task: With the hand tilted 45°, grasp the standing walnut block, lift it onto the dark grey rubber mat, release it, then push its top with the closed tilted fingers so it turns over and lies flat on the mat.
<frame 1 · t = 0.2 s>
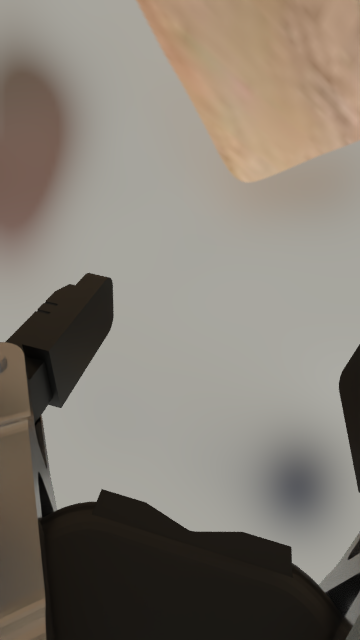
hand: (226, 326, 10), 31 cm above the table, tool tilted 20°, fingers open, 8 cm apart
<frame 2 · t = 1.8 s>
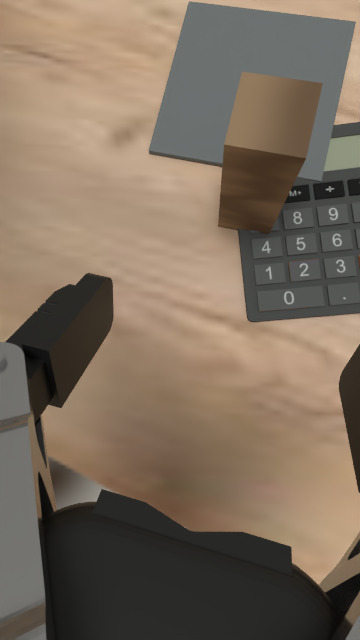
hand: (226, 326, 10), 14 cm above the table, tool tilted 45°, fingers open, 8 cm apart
calculator: (311, 223, 26), on the table
mat: (251, 90, 27), on the table
block: (248, 207, 26), on the table
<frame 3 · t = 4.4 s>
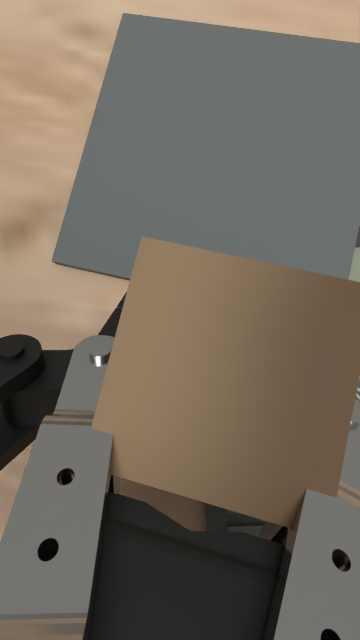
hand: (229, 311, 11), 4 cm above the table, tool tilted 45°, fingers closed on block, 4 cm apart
calculator: (321, 391, 15), on the table
mat: (221, 160, 16), on the table
block: (214, 363, 15), on the table, touching gripper
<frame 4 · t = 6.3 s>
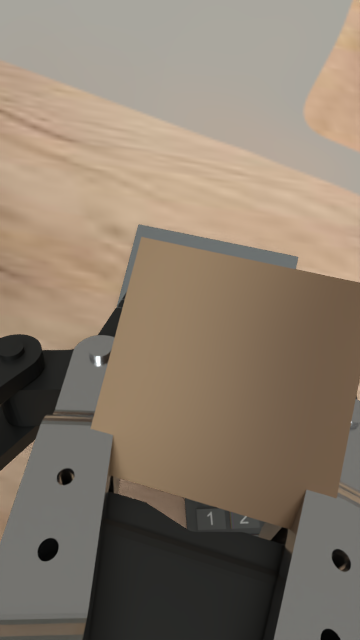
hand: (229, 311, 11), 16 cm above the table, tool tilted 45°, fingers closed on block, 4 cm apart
calculator: (253, 458, 26), on the table
mat: (197, 319, 28), on the table
block: (214, 364, 15), point 12 cm above the table, touching gripper
when the fingers open (6 cm above the table, at t = 8.5 s): block stays where it is, resting on mat.
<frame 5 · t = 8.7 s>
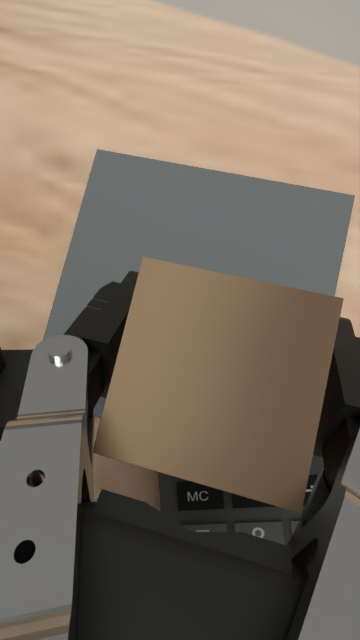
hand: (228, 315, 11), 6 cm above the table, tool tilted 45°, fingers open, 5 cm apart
calculator: (282, 528, 16), on the table
mat: (189, 298, 17), on the table
block: (213, 364, 16), resting on mat
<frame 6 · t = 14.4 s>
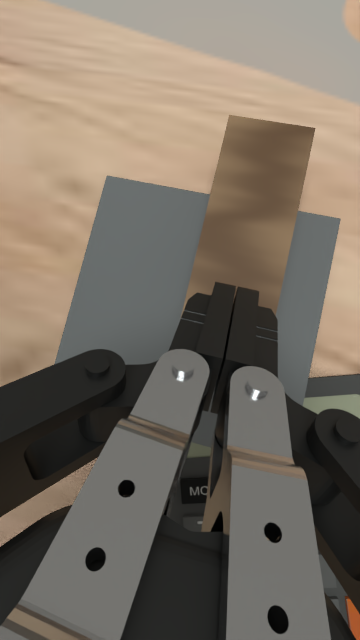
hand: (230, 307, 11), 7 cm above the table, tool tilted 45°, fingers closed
calculator: (276, 520, 18), on the table
mat: (191, 311, 19), on the table
block: (222, 333, 16), point 2 cm above the table, tilted 90°, touching mat
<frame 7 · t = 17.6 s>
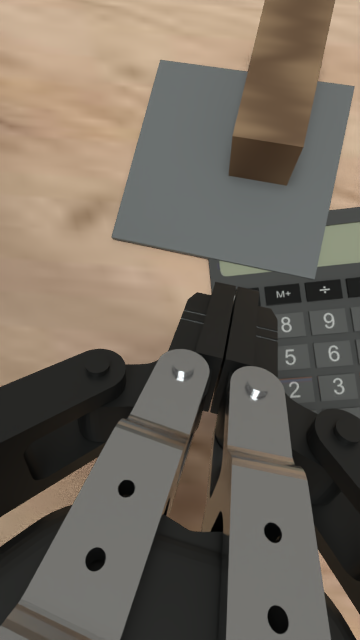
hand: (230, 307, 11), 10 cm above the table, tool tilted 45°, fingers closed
calculator: (302, 326, 22), on the table
mat: (231, 165, 23), on the table
block: (261, 162, 20), point 2 cm above the table, tilted 90°, touching mat
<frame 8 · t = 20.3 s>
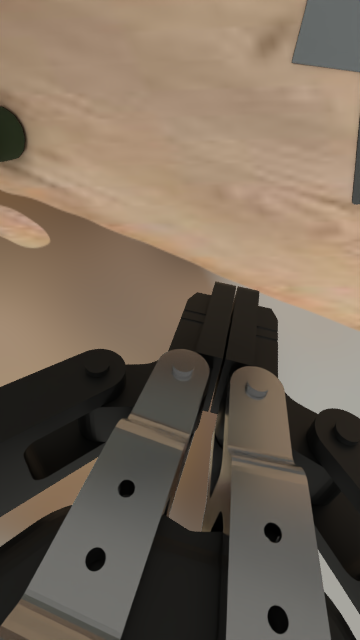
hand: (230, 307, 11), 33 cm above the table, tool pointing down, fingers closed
character mug: (7, 132, 43), on the table
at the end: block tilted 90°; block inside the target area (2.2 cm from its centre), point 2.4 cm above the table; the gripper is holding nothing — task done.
